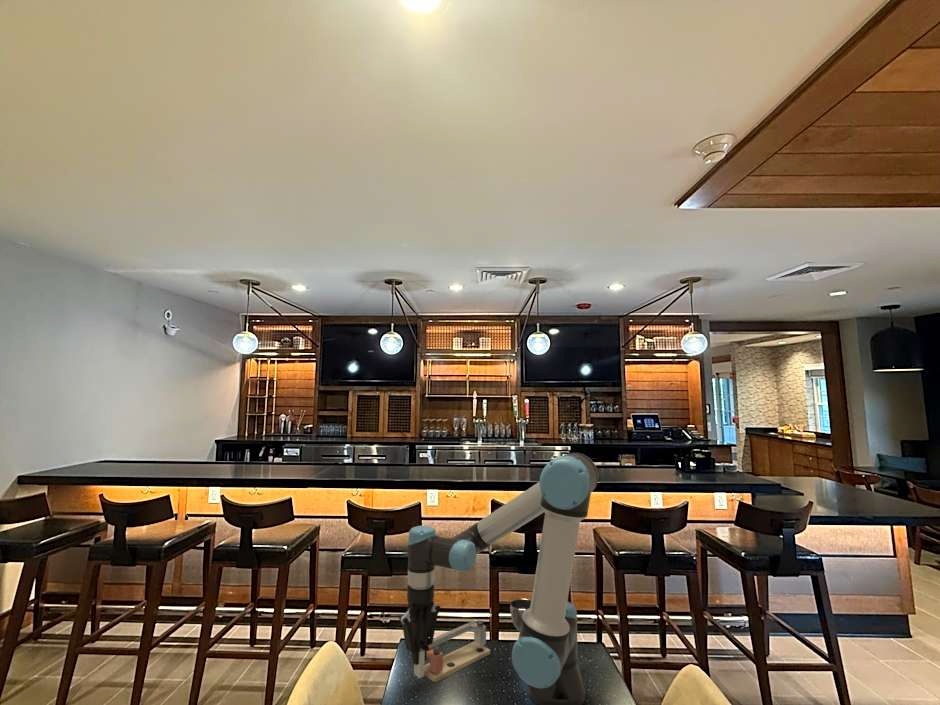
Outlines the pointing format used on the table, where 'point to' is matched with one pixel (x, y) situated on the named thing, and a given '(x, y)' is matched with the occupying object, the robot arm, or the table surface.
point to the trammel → (471, 626)
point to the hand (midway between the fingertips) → (419, 674)
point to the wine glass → (518, 611)
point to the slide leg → (435, 659)
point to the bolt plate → (457, 661)
